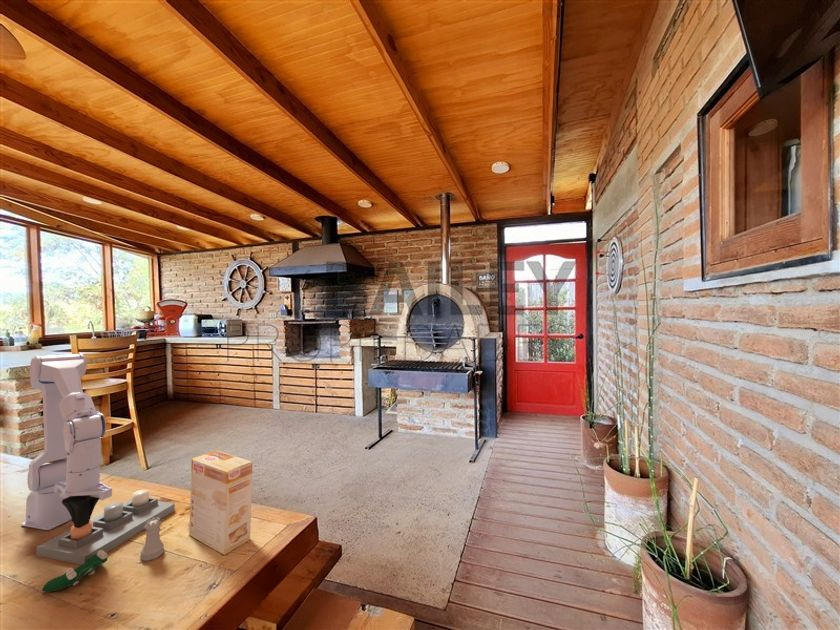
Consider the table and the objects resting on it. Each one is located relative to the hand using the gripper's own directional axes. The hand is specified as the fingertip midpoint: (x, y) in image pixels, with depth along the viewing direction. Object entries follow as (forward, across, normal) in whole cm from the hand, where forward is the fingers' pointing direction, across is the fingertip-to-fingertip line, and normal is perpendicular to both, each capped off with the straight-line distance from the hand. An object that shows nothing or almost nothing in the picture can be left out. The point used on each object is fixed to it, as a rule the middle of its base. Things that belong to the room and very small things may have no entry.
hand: (81, 525), depth 80 cm
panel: (+6, 0, +7) cm, 9 cm away
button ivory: (+2, 0, +14) cm, 14 cm away
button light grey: (+2, 0, +7) cm, 7 cm away
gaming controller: (+6, +10, -7) cm, 13 cm away
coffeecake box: (+6, +28, +11) cm, 31 cm away
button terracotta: (+3, 0, 0) cm, 3 cm away
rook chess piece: (+6, +18, +2) cm, 19 cm away
